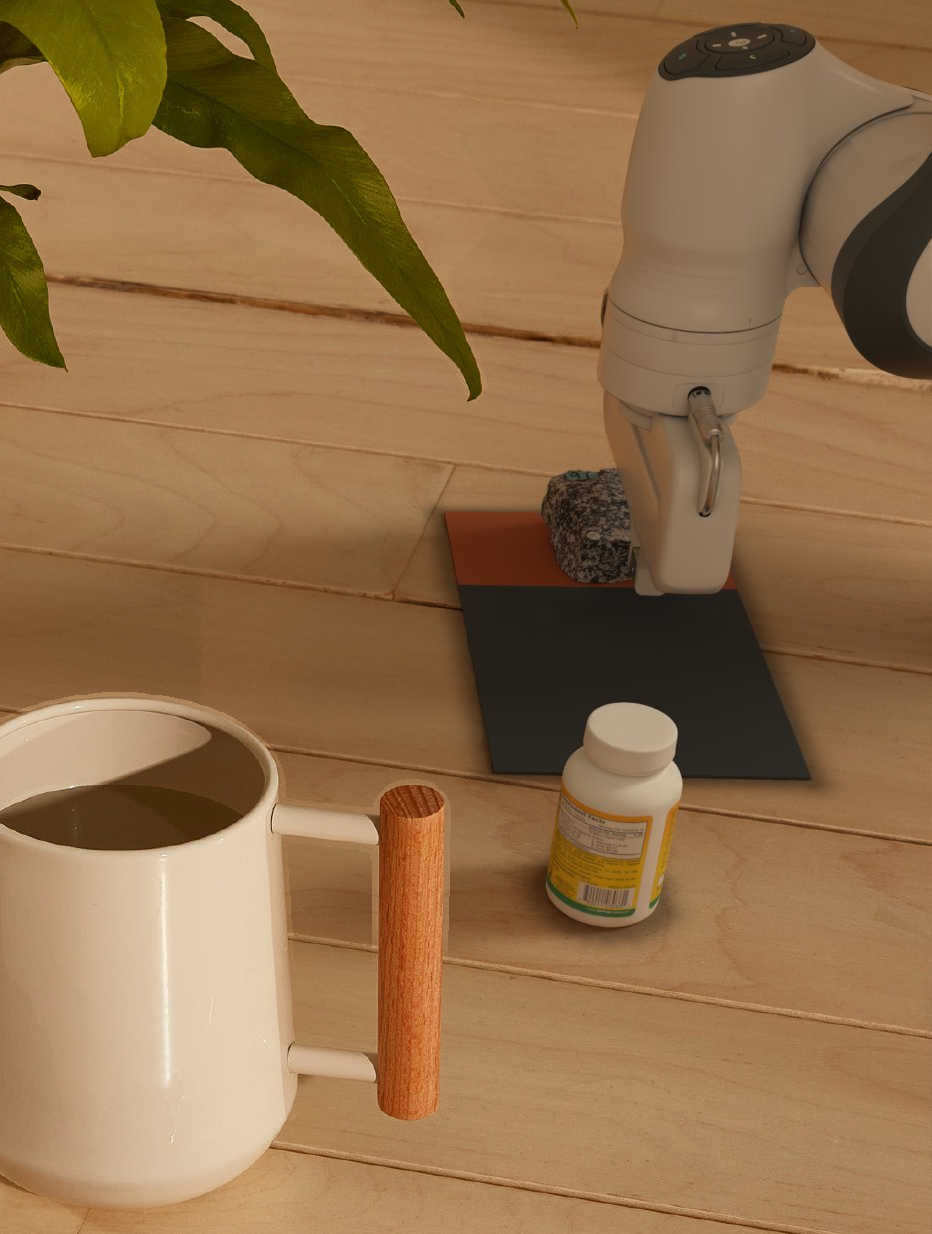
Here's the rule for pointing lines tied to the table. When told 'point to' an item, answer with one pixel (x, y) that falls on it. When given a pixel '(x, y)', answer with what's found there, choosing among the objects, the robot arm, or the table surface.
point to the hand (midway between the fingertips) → (646, 583)
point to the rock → (589, 525)
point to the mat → (609, 658)
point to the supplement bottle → (615, 817)
